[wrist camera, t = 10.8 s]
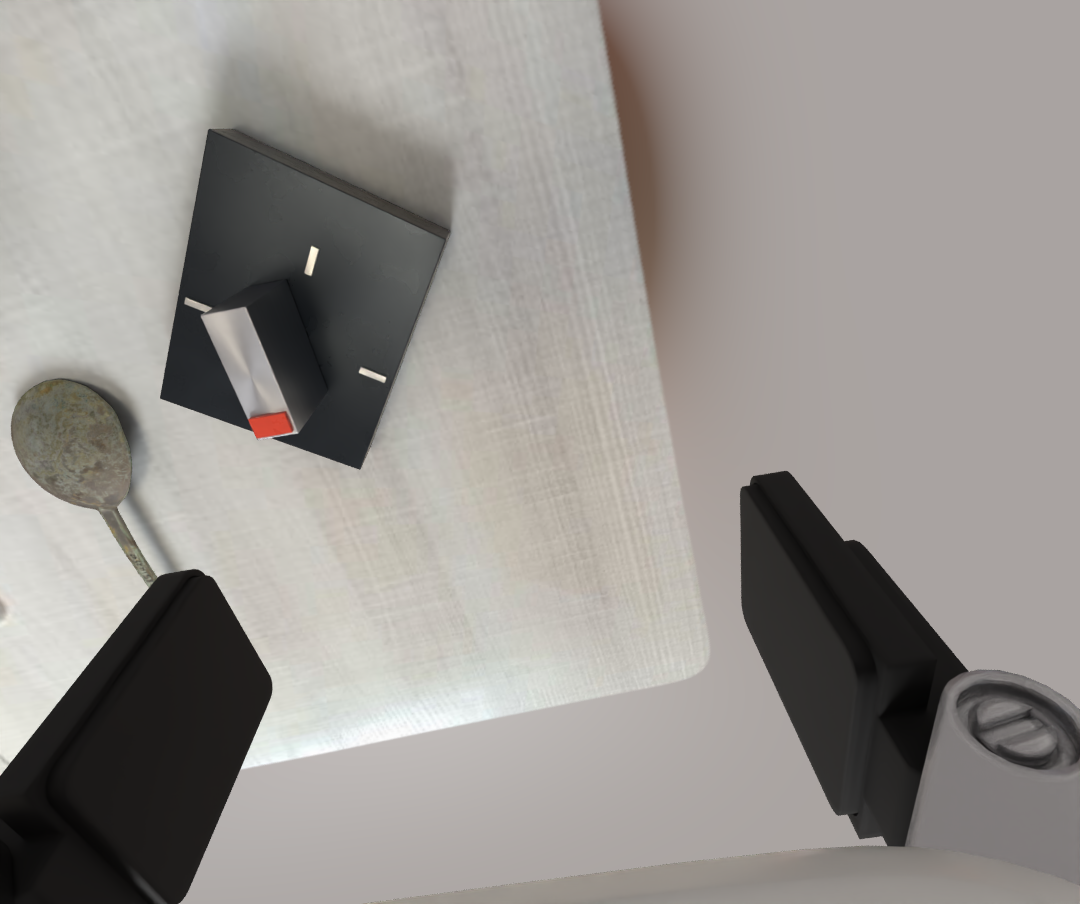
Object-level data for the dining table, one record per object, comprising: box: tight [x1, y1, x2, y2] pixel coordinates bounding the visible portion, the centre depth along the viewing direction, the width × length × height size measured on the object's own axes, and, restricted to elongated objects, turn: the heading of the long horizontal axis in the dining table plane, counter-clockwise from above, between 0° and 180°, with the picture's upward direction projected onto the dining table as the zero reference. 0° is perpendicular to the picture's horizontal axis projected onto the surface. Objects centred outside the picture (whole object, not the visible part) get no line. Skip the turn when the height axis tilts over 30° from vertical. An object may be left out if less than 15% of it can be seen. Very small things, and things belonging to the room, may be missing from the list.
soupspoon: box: [11, 379, 157, 587], centre depth 38 cm, size 22×3×7 cm
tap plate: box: [160, 129, 451, 470], centre depth 31 cm, size 14×11×3 cm
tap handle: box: [201, 280, 328, 440], centre depth 28 cm, size 6×2×5 cm, turn 10°
